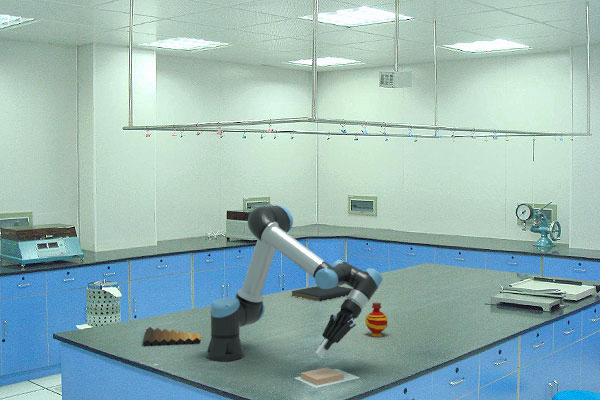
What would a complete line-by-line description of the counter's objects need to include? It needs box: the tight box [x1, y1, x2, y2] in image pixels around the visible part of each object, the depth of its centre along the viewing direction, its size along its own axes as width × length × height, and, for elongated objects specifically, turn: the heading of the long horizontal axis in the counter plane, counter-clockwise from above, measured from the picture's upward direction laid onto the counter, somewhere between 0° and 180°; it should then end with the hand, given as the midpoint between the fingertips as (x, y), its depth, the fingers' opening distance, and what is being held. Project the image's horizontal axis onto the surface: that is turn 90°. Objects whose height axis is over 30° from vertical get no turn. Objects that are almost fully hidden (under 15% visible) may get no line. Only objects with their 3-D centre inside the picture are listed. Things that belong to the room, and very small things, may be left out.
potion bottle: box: [364, 302, 389, 338], centre depth 315 cm, size 10×10×15 cm
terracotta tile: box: [300, 366, 344, 385], centre depth 247 cm, size 2×10×12 cm
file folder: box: [291, 285, 353, 302], centre depth 418 cm, size 33×4×24 cm
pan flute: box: [142, 326, 202, 347], centre depth 311 cm, size 25×3×25 cm
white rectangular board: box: [294, 368, 361, 389], centre depth 249 cm, size 20×14×1 cm
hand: (318, 355), depth 246 cm, fingers closed
